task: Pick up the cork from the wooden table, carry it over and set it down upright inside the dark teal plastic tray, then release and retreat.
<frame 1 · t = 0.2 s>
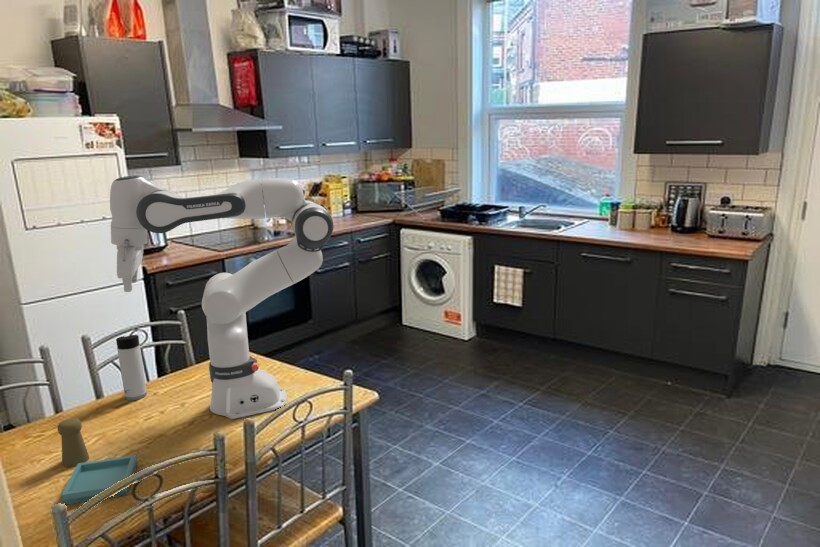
hand: (130, 286, 161), 39 cm above the table, tool pointing down, fingers open, 8 cm apart
tray: (102, 483, 139), on the table
cork: (75, 461, 149), on the table
travel mug: (136, 397, 184), on the table
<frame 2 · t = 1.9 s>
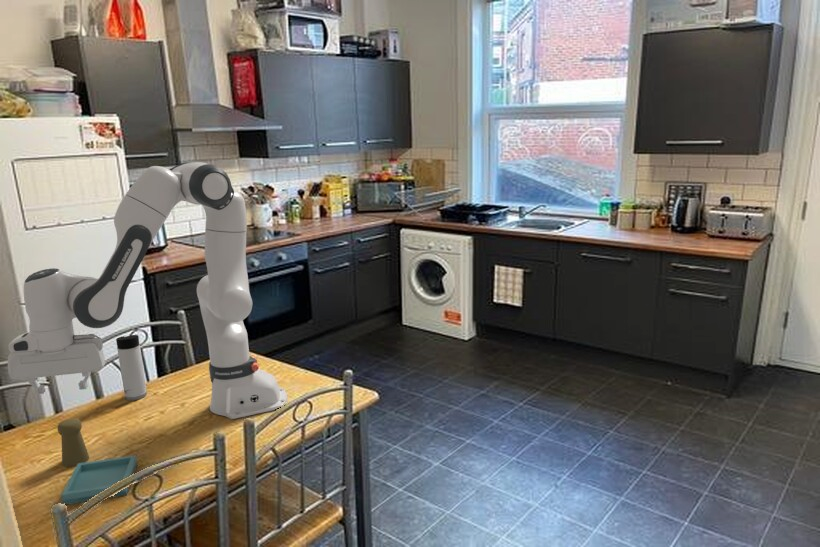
hand: (62, 390, 144), 19 cm above the table, tool pointing down, fingers open, 8 cm apart
nothing on the table moved.
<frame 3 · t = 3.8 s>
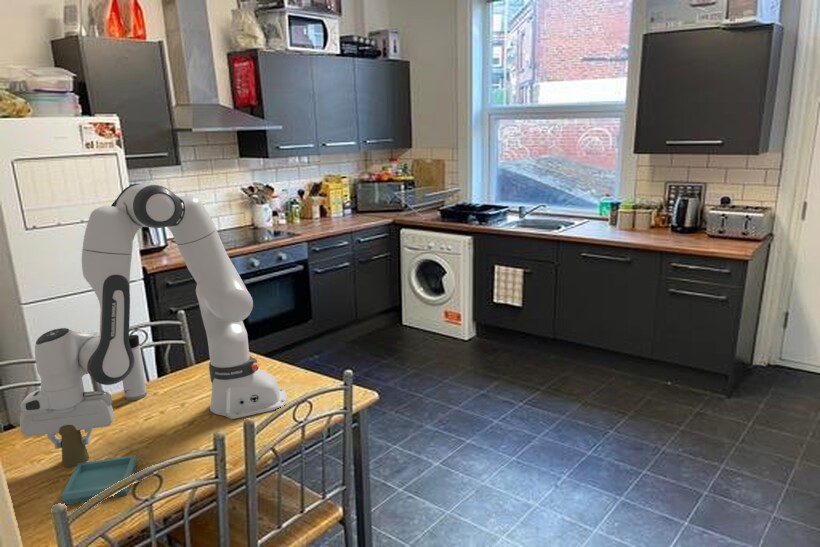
hand: (73, 445, 148), 4 cm above the table, tool pointing down, fingers closed on cork, 5 cm apart
cork: (75, 461, 149), on the table, touching gripper
everything else where it was.
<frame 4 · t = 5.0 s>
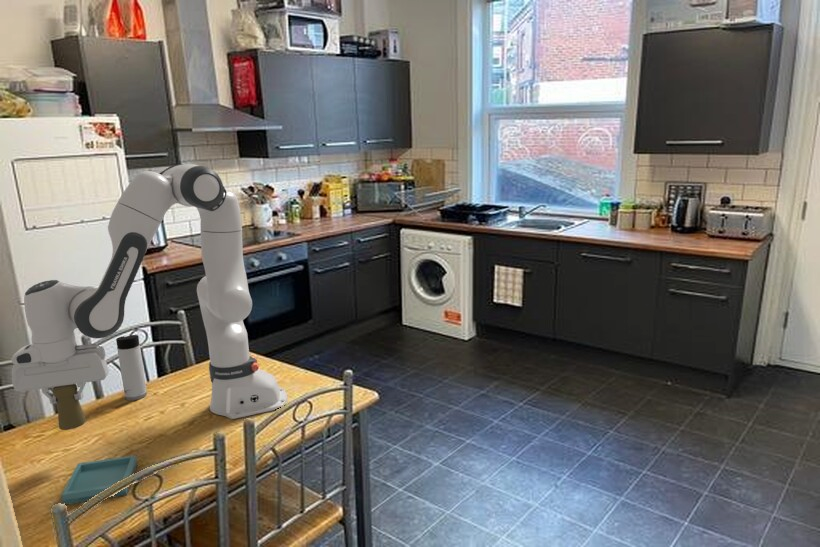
hand: (67, 400, 145), 16 cm above the table, tool pointing down, fingers closed on cork, 4 cm apart
cork: (72, 424, 147), point 10 cm above the table, touching gripper
everything else where it was.
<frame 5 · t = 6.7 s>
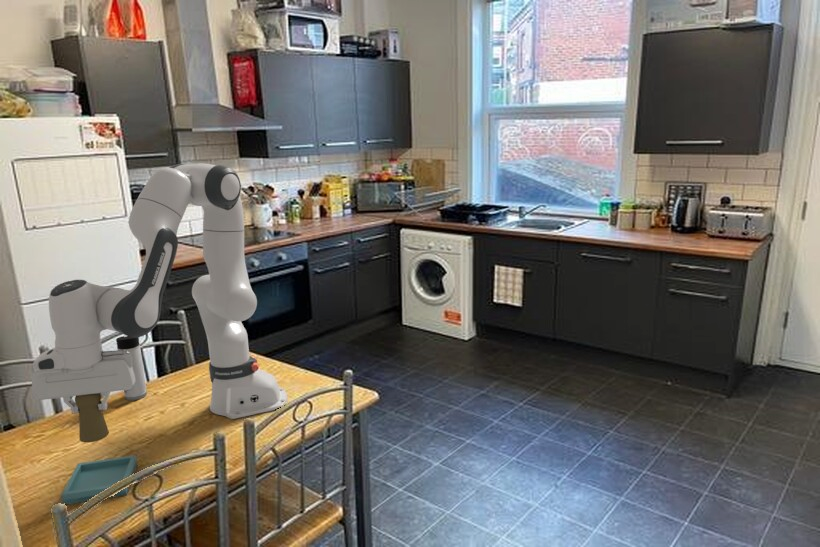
hand: (90, 410, 134), 19 cm above the table, tool pointing down, fingers closed on cork, 4 cm apart
cork: (94, 436, 136), point 12 cm above the table, touching gripper
everything else where it was.
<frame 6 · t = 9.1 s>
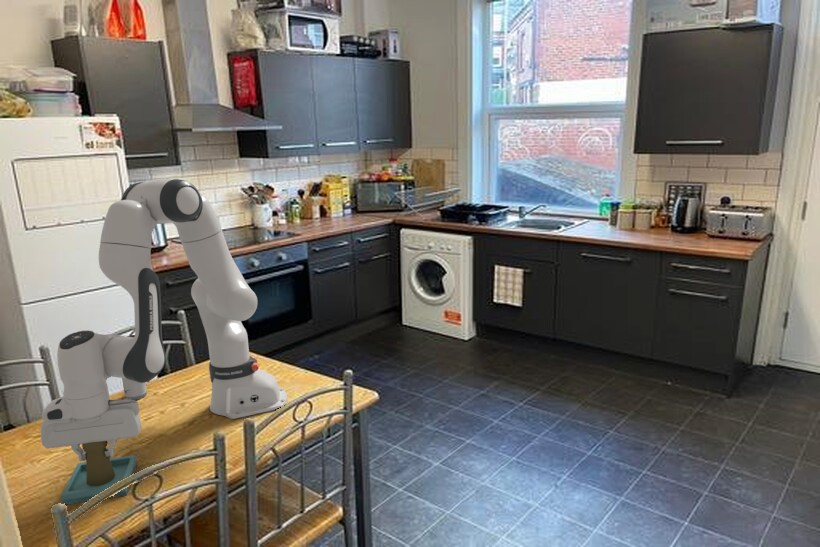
hand: (97, 457, 137), 7 cm above the table, tool pointing down, fingers closed on cork, 4 cm apart
cork: (101, 479, 139), point 1 cm above the table, touching gripper, tray
everything else where it was.
when the fingers open (7 cm above the table, at t = 9.1 s): cork stays where it is, resting on tray.
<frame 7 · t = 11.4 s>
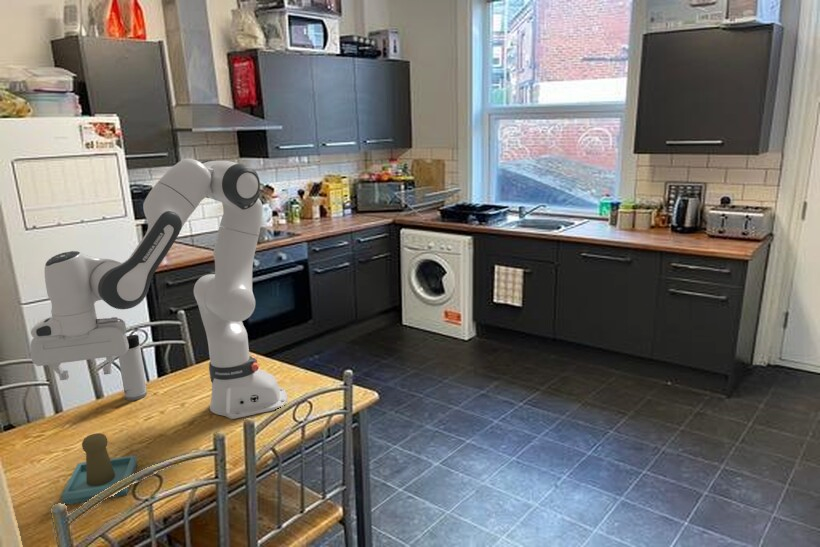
hand: (86, 376, 142), 23 cm above the table, tool pointing down, fingers open, 8 cm apart
cork: (101, 479, 139), point 1 cm above the table, touching tray
everything else where it was.
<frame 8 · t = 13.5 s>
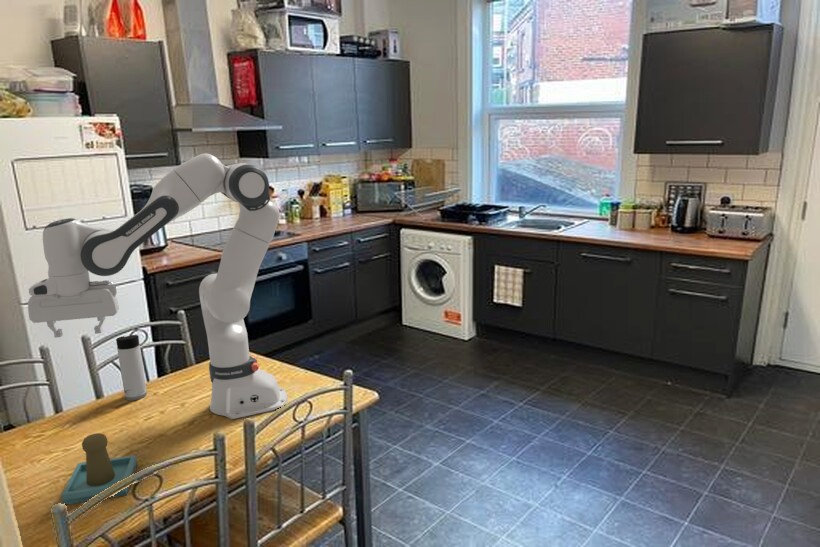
hand: (79, 334, 154), 29 cm above the table, tool pointing down, fingers open, 8 cm apart
nothing on the table moved.
at the end: cork inside the target area on the tray (0.4 cm from its centre), point 1.0 cm above the tray's base; cork tilted 0°; the gripper is holding nothing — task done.
